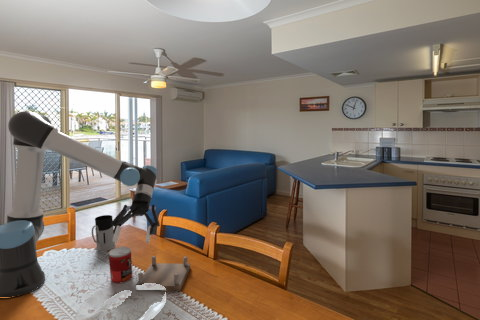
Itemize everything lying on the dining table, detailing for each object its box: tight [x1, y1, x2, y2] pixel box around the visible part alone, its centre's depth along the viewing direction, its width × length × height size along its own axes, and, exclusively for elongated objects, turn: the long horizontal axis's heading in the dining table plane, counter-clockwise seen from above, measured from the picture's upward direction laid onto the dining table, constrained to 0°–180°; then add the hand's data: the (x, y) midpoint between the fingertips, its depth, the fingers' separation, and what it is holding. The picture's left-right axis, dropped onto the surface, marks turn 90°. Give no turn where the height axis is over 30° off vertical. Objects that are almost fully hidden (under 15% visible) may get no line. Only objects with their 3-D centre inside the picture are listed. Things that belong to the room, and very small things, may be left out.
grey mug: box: [91, 214, 117, 252], centre depth 132 cm, size 9×14×15 cm, turn 176°
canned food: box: [108, 246, 133, 284], centre depth 107 cm, size 8×8×11 cm
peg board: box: [135, 255, 191, 293], centre depth 106 cm, size 16×16×6 cm
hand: (130, 242), depth 113 cm, fingers open, 13 cm apart
